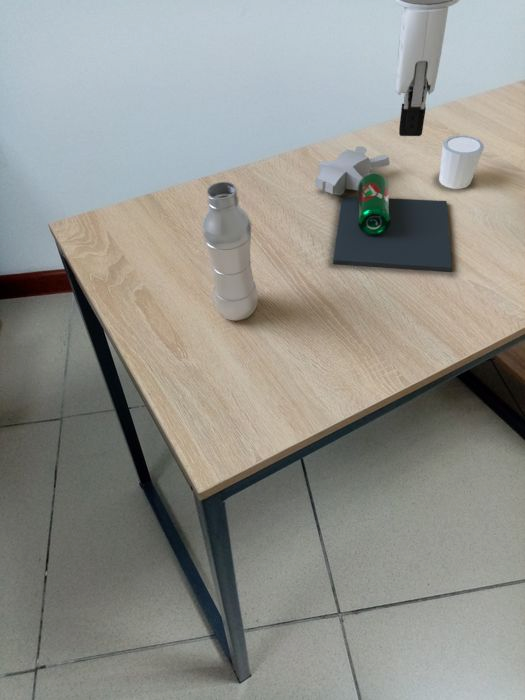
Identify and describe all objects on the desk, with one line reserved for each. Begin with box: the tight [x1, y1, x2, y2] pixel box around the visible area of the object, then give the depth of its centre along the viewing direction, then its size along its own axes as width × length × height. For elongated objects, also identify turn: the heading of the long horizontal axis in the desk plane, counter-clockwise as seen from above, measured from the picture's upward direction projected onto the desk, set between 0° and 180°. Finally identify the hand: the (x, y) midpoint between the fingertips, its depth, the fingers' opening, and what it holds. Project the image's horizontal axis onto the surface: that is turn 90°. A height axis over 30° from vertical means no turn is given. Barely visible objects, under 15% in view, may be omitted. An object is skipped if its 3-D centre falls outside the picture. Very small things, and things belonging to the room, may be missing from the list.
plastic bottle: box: [201, 181, 259, 321], centre depth 71 cm, size 6×7×20 cm
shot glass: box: [438, 135, 485, 190], centre depth 95 cm, size 7×7×7 cm
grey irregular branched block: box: [315, 145, 391, 196], centre depth 97 cm, size 10×5×15 cm
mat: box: [332, 195, 453, 273], centre depth 88 cm, size 18×18×1 cm
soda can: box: [357, 171, 390, 235], centre depth 88 cm, size 5×5×12 cm
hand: (410, 133), depth 77 cm, fingers closed
